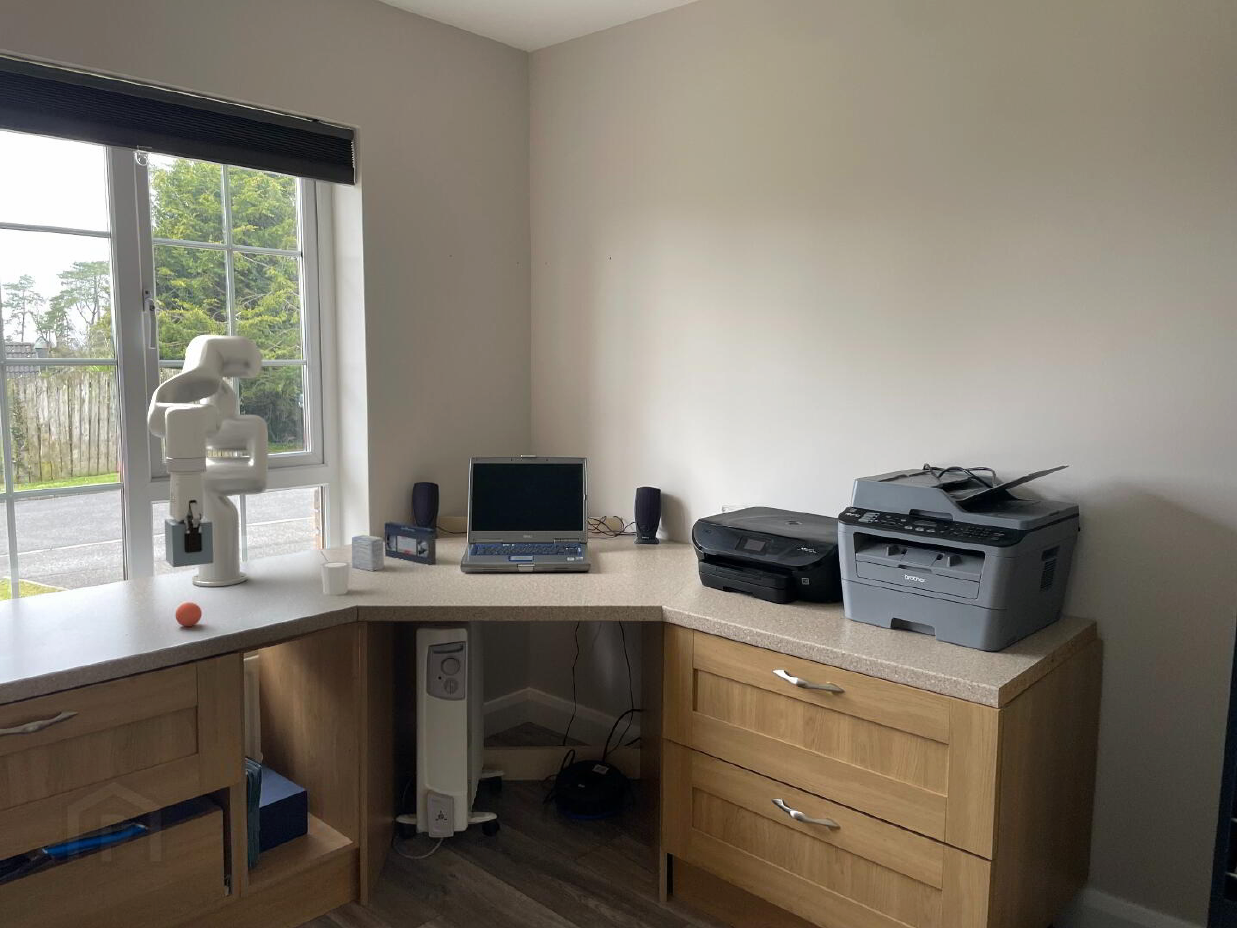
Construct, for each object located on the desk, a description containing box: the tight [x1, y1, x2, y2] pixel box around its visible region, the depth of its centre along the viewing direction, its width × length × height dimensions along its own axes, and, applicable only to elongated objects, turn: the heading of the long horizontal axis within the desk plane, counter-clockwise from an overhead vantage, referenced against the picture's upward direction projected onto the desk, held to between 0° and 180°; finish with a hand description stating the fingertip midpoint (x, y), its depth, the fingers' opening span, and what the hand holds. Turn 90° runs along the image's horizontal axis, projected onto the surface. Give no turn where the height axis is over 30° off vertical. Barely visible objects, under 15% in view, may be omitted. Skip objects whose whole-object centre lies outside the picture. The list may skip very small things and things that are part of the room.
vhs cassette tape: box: [384, 521, 437, 566], centre depth 258 cm, size 18×3×10 cm, turn 55°
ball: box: [175, 602, 203, 627], centre depth 191 cm, size 5×5×5 cm
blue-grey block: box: [164, 516, 213, 568], centre depth 190 cm, size 8×8×9 cm
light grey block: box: [351, 534, 385, 572], centre depth 246 cm, size 8×4×9 cm, turn 58°
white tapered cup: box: [320, 561, 351, 596], centre depth 221 cm, size 7×7×7 cm
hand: (188, 547), depth 190 cm, fingers closed on blue-grey block, 7 cm apart
